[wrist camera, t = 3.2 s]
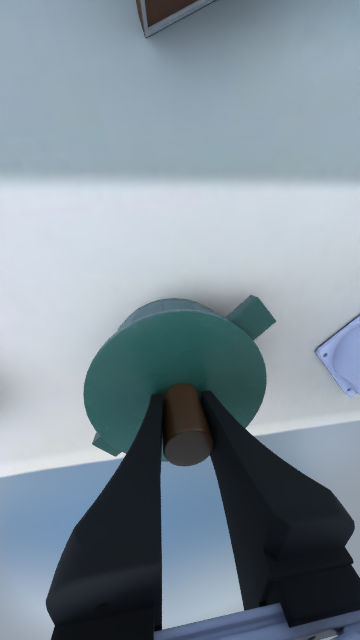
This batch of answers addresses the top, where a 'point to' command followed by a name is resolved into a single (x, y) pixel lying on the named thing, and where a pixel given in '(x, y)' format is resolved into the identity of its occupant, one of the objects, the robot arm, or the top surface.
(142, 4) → the cake slice
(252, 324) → the pot
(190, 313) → the pot lid
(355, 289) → the top surface
